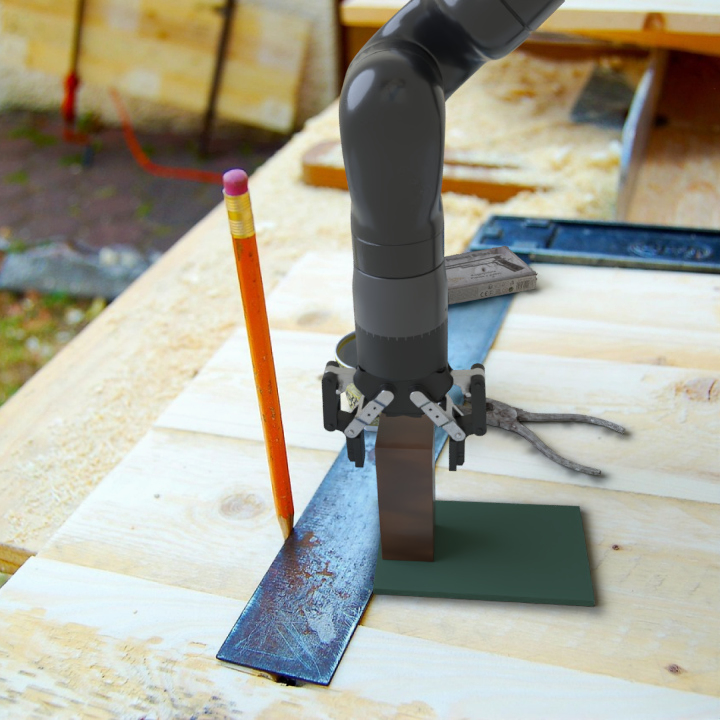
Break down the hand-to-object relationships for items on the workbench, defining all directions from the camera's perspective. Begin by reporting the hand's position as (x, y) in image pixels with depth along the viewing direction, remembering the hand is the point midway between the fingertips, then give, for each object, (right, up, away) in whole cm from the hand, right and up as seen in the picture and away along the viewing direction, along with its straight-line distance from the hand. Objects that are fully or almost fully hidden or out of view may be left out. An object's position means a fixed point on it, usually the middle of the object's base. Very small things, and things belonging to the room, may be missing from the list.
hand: (406, 463), depth 70 cm
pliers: (+16, +1, +19) cm, 25 cm away
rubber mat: (+8, -9, +5) cm, 13 cm away
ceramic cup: (-1, +2, +23) cm, 23 cm away
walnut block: (+1, -8, +6) cm, 10 cm away
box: (+13, +21, +51) cm, 56 cm away
